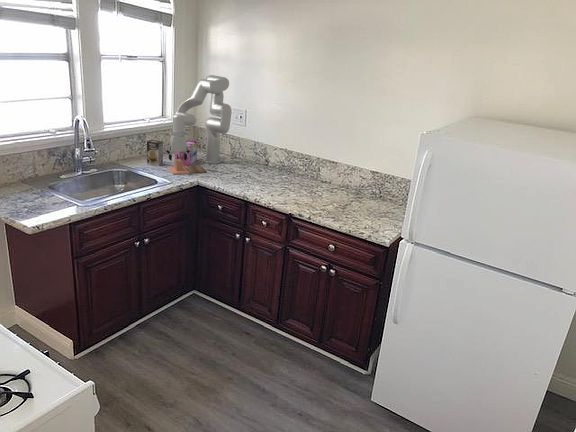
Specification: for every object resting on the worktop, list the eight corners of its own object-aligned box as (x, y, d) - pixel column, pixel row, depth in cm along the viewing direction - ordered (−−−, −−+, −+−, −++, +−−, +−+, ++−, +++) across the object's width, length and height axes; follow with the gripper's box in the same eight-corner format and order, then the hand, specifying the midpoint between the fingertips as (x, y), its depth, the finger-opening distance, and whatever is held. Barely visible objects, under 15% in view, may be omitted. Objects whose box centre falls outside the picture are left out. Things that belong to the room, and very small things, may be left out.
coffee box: (146, 164, 315) (146, 141, 309) (151, 162, 321) (151, 139, 315) (158, 166, 313) (158, 143, 307) (163, 164, 319) (163, 141, 313)
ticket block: (199, 167, 321) (199, 164, 320) (206, 173, 309) (206, 170, 309) (183, 167, 315) (184, 165, 315) (190, 174, 304) (190, 171, 304)
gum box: (184, 168, 315) (184, 148, 310) (173, 166, 316) (173, 147, 311) (197, 160, 337) (197, 141, 332) (186, 158, 338) (186, 140, 333)
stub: (183, 167, 315) (183, 157, 312) (189, 173, 304) (190, 163, 301) (167, 168, 310) (167, 158, 307) (173, 174, 299) (173, 164, 296)
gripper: (189, 132, 305) (188, 158, 311) (163, 132, 296) (163, 158, 302) (193, 135, 299) (192, 161, 305) (166, 135, 290) (166, 161, 296)
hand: (177, 160), depth 304 cm, fingers open, 9 cm apart
